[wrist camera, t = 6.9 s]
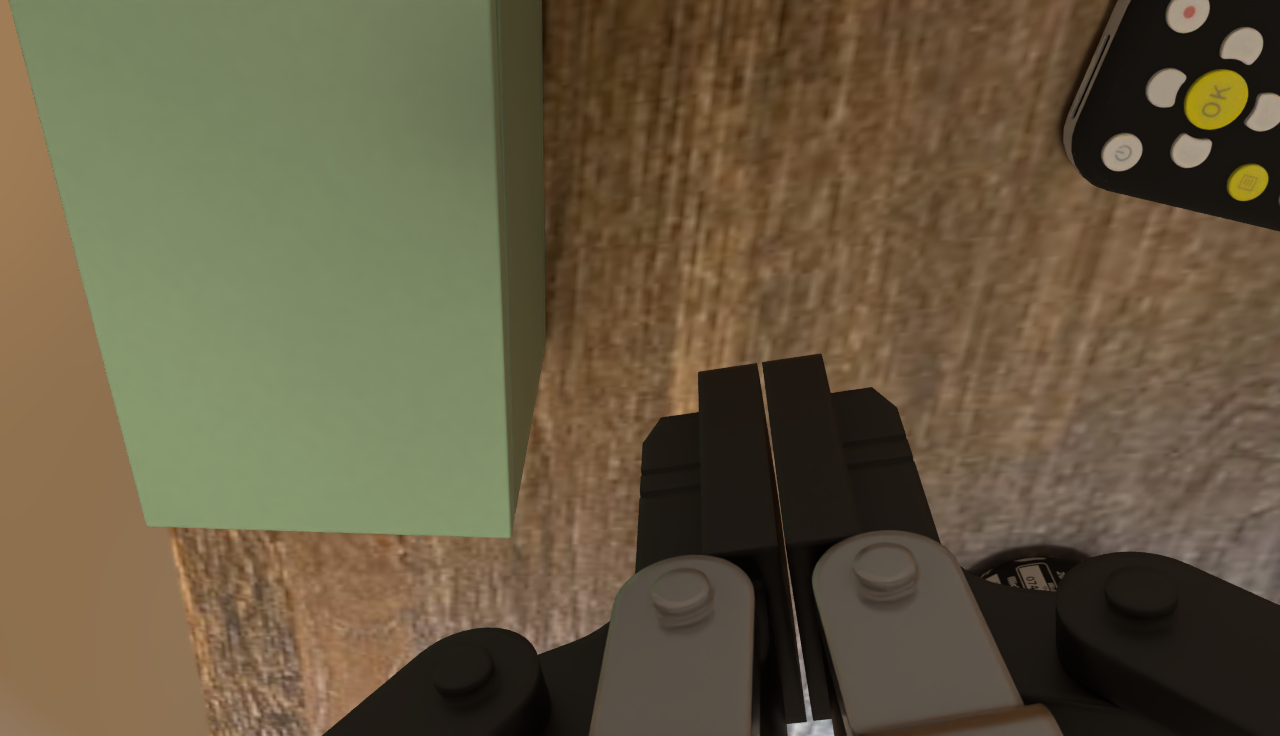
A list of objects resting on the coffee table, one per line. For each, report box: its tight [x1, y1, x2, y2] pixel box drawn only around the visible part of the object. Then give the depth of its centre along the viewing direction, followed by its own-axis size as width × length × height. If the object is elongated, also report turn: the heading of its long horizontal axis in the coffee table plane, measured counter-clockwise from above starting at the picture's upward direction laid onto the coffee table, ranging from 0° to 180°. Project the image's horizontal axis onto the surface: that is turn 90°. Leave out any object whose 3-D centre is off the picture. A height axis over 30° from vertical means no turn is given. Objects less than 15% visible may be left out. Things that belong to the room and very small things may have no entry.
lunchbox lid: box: [9, 0, 514, 538], centre depth 23 cm, size 13×9×1 cm, turn 178°
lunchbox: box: [496, 0, 546, 515], centre depth 28 cm, size 13×9×9 cm
